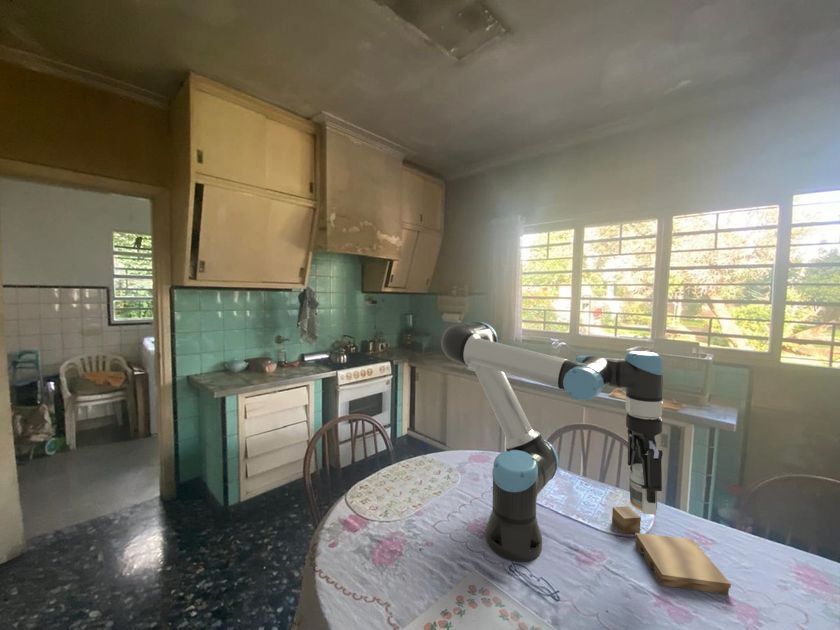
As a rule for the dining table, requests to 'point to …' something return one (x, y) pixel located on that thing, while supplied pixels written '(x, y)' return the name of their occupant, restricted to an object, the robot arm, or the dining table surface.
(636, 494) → the pill bottle
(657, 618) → the dining table surface
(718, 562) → the dining table surface
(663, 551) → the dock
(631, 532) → the wooden cube
